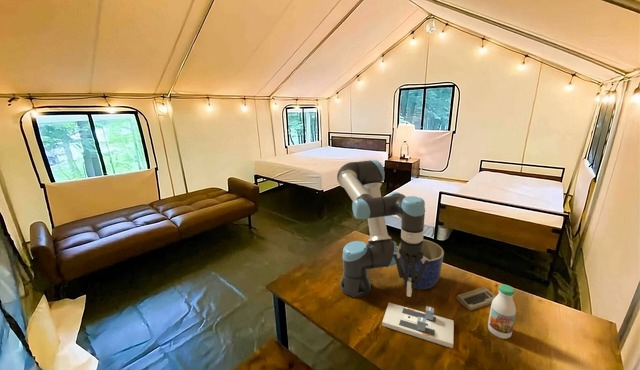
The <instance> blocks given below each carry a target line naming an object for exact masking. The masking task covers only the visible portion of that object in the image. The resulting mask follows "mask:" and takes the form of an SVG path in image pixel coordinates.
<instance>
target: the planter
mask: <svg viewBox="0 0 640 370" xmlns="http://www.w3.org/2000/svg"><path fill="white" fill-rule="evenodd" d="M422 241H423V248H422V252H423V254H424V257H426V258H429V259H430V261H429V264H428V265H427V266H426V267H425V270H424V272H423V275H422V277H421V280H420V282H415V288H414V289H415V290H416V289H417V290H429V289H432V288H433V287H434V286H436V285H437V283H438V282H439V280H440V277H441V271H442V266H443V261H444V255H445V251H444V249H443V247H442V246H440V245H439V244H438V243H436V242H434V241H431V240H428V239H425V238H423V240H422ZM397 247H398V251H399V250H400V249H401V242H400V243H399V244H398V246H397ZM400 259H401V263H402V268H403V272H404V271H405V261H404V260H403V258H402V257H401V255H400ZM421 266H422V259H421V260H420V261H419V262H418V263H416V277H417V276H418V274H419V271H420V269H421ZM411 277H412V263H409V278H411ZM402 280H403V281H404V279H403V278H402Z"/></svg>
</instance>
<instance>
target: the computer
mask: <svg viewBox="0 0 640 370" xmlns="http://www.w3.org/2000/svg"><path fill="white" fill-rule="evenodd" d="M496 296H497V295H496V294H494V293H493V292H491V290H490V289H488V288H487V287H485V286H482V287H480V288H475V289H473V290H469V291H466V292H464V293H460V294H458V295H456V297H455V298H456V301H458V302H459V303H460V304H461V305H462V306H464V307H465V308H466V309H467V310H469V312H471V311H473V310H477V309H480V308H483V307H486V306H489V305H491V304H492V301H493V299H494V298H495V297H496Z"/></svg>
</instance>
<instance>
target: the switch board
mask: <svg viewBox="0 0 640 370" xmlns="http://www.w3.org/2000/svg"><path fill="white" fill-rule="evenodd" d="M425 312H426V311H425ZM425 312H424V311H420V310H417V309H414V308H410V307H406V306H403V305H400V304H396V303H392V302H388V304H387V307H386V310H385V313H384V316H383V319H382V321H381V322H382V324H381V326H382V327H384V328H388V329H391V330H394V331H397V332H400V333H404V334H407V335H410V336H412V337H416V338H419V339H422V340H425V341H429V342H431V343H434V344H438V345H440V346H444V347H447V348H450V349H454V336H455V335H454V330H455V329H454V328H455V327H454V325H455V324H454V322H455V321H454V320H452V319H449V318H446V317H443V316H440V315H439V316H438V315H435V314H434V315H433V320H430V319H426V328H425V332H424V331H421V330H418V329H417V320H418V316H419V317H422V318H425Z"/></svg>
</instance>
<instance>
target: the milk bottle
mask: <svg viewBox="0 0 640 370" xmlns="http://www.w3.org/2000/svg"><path fill="white" fill-rule="evenodd" d="M514 295H515V289H514V287H512V286H510V285H508V284H500V285H499V286H498V293H497V295H495V296H496V297H495V298H494V299H493V301H492V304H490V309H489V310H490V311H489V315H488V322H487V328H488V331H489V333H491V334H492V335H493V336H495V337H496V338H499V339H506V340H507V339H509V338H511V337H512V334H513V329H514V324H515V319H516V312H517V310H516V309H517V307H516V304H515V301H514Z"/></svg>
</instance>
